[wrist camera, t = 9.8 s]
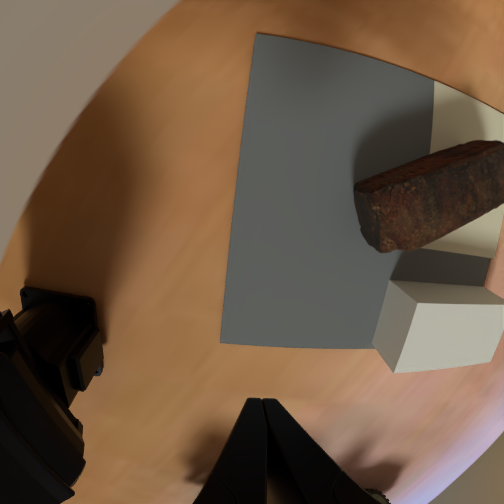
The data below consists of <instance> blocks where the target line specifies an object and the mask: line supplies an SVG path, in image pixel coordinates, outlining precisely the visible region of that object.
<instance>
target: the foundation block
mask: <svg viewBox="0 0 504 504" xmlns="http://www.w3.org/2000/svg"><path fill="white" fill-rule="evenodd" d="M503 330H504V299H503V298H501V297H499V296H498V295H496V294H494V293H493V292H491V291H489V290H488V289H486V288H484V287H482V286H466V285H452V284H438V283H424V282H410V281H397V280H389V282H388V286H387V290H386V294H385V298H384V302H383V306H382V309H381V313H380V316H379V320H378V323H377V327H376V330H375V333H374V337H373V340H372V344H373V346H374V347H375V348H376V350H377V351H378V352H379V354H380V355H381V357H382V358H383V359H384V361H385V362H386V363H387V365H388V366H389V368H390V369H391V370H392V372H393V373H405V372H416V371H427V370H436V369H445V368H453V367H460V366H467V365H474V364H480V363H487V362H490V361H491V359H492V357H493V355H494V352H495V350H496V348H497V345H498V343H499V340H500V338H501V335H502V333H503Z"/></svg>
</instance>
